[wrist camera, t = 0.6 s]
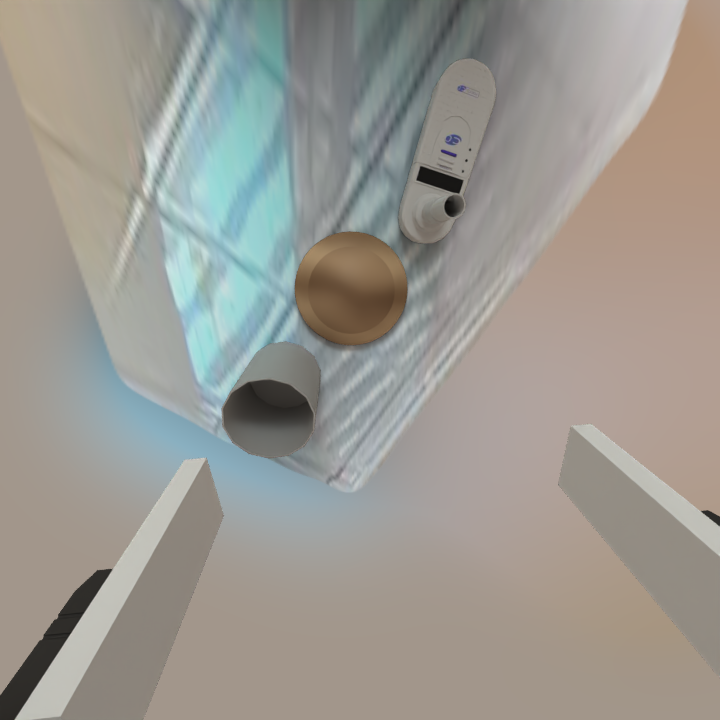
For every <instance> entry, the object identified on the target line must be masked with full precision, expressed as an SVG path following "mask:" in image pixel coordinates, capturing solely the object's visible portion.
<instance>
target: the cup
mask: <svg viewBox="0 0 720 720" xmlns="http://www.w3.org/2000/svg"><path fill="white" fill-rule="evenodd" d="M320 372H321V370H320V368H319V366H318V363H317V361H316V359H315V357H314V356H313V355H312V354H311V353H310V352H309V351H307V350H306V349H305V348H304V347H303V346H300V345H297V344H293V343H290V342H286V341H285V342H278V343H271V344H268V345H267V346H265V347H264V348H262V349H261V350H259V351H258V352H256V354H255V355H254V357H253V359H252V360H251V362H250V363H249V365H248V366H247V368H246V369H245V371H244V372H243V374H242V375H241V377H240V378H239V380H238V381H237V383H236V384H235V386H234V387H233V389H232V390H231V392H230V393H229V395H228V397H227V399H226V401H225V403H224V405H223V407H222V425H223V428H224V430H225V431H226V433H227V435H228V436H229V438H230V439H231V441H232V443H234V444H235V445H237V446H238V447H240V448H241V449H243V450H244V451H246V452H247V453H249V454H252V455H256V456H261V457H265V458H275V457H282V456H289V455H290V454H292V453H294V452H295V451H297V450H299V449H300V448H302V447H304V446H305V444H306V443H307V441H308V440H309V438H310V437H311V435H312V434H313V432H314V428H315V419H316V411H317V403H318V394H319V386H320Z"/></svg>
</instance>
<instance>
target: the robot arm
mask: <svg viewBox="0 0 720 720" xmlns="http://www.w3.org/2000/svg"><path fill="white" fill-rule="evenodd" d="M558 485H559V486H560V488H561V489H562V490H563V491H564V492H565V494H566V495H567V496H568V497H569V498H570V500H571V501H572V502H573V503H574V504H575V505H576V507H577V508H578V509H579V510H580V512H582V514H583V515H584V516H585V517H586V519H587V520H588V521H589V522H590V523H591V525H592V526H593V527H594V528H595V529H596V531H597V532H598V533H599V534H600V535H601V537H602V538H603V539H604V540H605V541H606V543H607V544H608V545H609V546H610V547H611V549H612V550H613V551H614V552H615V553H616V555H617V556H618V557H619V558H620V559H621V561H622V562H623V563H624V564H625V565H626V567H627V568H628V569H629V570H630V571H631V572H632V574H633V575H634V576H635V577H636V579H637V580H638V581H639V582H640V583H641V585H642V586H643V587H644V588H645V589H646V591H647V592H648V593H649V594H650V595H651V597H653V599H654V600H655V601H656V602H657V604H658V605H659V606H660V607H661V608H662V610H663V611H664V612H665V613H666V614H667V615H668V617H669V618H670V619H671V620H672V622H673V623H674V624H675V625H676V626H677V628H678V629H679V630H680V631H681V632H682V634H683V635H684V636H685V637H686V638H687V640H688V641H689V642H690V643H691V644H692V645H693V647H694V648H695V649H696V650H697V651H698V653H699V654H700V655H701V656H702V658H703V659H704V660H705V661H706V662H707V663H708V665H709V666H710V667H711V668H712V670H713V671H714V672H715V673H716V674H717V676H718V677H719V678H720V517H719V516H717V515H716V514H714V513H712V512H710V511H708V510H707V511H699V510H698V509H697V508H696V507H694V506H693V505H692V504H691V503H689V502H688V501H687V500H686V499H684V498H683V497H682V496H680V495H679V494H678V493H677V492H675V491H674V490H673V489H672V488H671V487H669V486H668V485H667V484H666V483H664V482H663V481H662V480H661V479H659V478H658V477H657V476H656V475H654V474H653V473H652V472H651V471H649V470H648V469H647V468H645V467H644V466H643V465H642V464H641V463H639V462H638V461H637V460H636V459H634V458H633V457H632V456H631V455H629V454H628V453H627V452H625V451H624V450H623V449H622V448H620V447H619V446H618V445H617V444H616V443H614V442H613V441H612V440H611V439H609V438H608V437H607V436H606V435H604V434H603V433H602V432H601V431H599V430H598V429H597V428H596V427H594V426H593V425H592V424H587V425H575V426H571V427H570V432H569V437H568V441H567V446H566V450H565V455H564V460H563V464H562V469H561V474H560V478H559V483H558ZM223 517H224V515H223V512H222V508H221V505H220V501H219V498H218V494H217V491H216V488H215V485H214V481H213V478H212V475H211V471H210V468H209V464H208V461H207V458H199V459H188V460H184V461H183V463H182V465H181V466H180V468H179V469H178V471H177V472H176V474H175V475H174V477H173V478H172V480H171V481H170V483H169V484H168V486H167V487H166V489H165V490H164V492H163V494H162V495H161V497H160V498H159V500H158V501H157V503H156V504H155V506H154V507H153V509H152V510H151V512H150V513H149V515H148V516H147V518H146V520H145V521H144V523H143V524H142V526H141V527H140V529H139V530H138V532H137V533H136V535H135V536H134V538H133V539H132V541H131V543H130V544H129V546H128V547H127V549H126V550H125V552H124V553H123V555H122V556H121V558H120V559H119V561H118V562H117V564H116V565H115V567H114V569H106V570H97V571H96V572H95V573H94V574H93V575H92V576H91V577H90V578H89V579H88V580H87V581H85V582H84V584H82V585H81V586H80V587H79V588H78V589H77V590H76V591H75V592H74V594H73V595H72V596H71V598H70V599H69V600H68V602H67V603H66V605H65V606H64V608H63V609H62V610H61V612H60V613H59V614H58V618H57V619H56V620H54V621H53V623H52V624H51V626H50V627H49V628H48V630H47V631H46V633H45V634H44V638H43V639H42V640H40V641H39V642H38V644H37V645H36V647H35V648H34V649H33V651H32V652H31V654H30V655H29V656H28V658H27V659H26V660H25V662H24V663H23V665H22V666H21V667H20V669H19V670H18V672H17V673H16V674H15V676H14V677H13V679H12V680H11V681H10V683H9V684H8V685H7V687H6V688H5V690H4V691H3V693H2V694H1V695H0V720H143V719H144V716H145V714H146V712H147V709H148V707H149V704H150V702H151V699H152V696H153V694H154V691H155V689H156V686H157V684H158V681H159V679H160V676H161V674H162V671H163V668H164V666H165V664H166V661H167V658H168V656H169V653H170V651H171V648H172V646H173V643H174V641H175V638H176V635H177V633H178V631H179V628H180V626H181V623H182V620H183V618H184V615H185V613H186V610H187V608H188V605H189V603H190V600H191V598H192V595H193V593H194V590H195V588H196V585H197V582H198V580H199V577H200V575H201V572H202V570H203V567H204V565H205V562H206V560H207V557H208V555H209V552H210V549H211V547H212V544H213V542H214V539H215V537H216V534H217V532H218V529H219V527H220V524H221V522H222V519H223Z"/></svg>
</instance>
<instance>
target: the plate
mask: <svg viewBox="0 0 720 720" xmlns="http://www.w3.org/2000/svg"><path fill="white" fill-rule="evenodd" d="M295 297H296V302H297V305H298V309H299V311H300V313H301V315H302V317H303V319H304V320H305V322H306V323H307V324H308V325H309V327H310V328H311V329H312V330H313V331H314V332H316V333H317V334H318V335H320V336H321V337H323V338H325V339H327V340H329V341H331V342H334V343H338V344H343V345H360V344H364V343H368V342H371V341H373V340H375V339H377V338H379V337H381V336H382V335H384V334H385V333H386V332H388V331H389V330H390V329H391V328H392V327H393V326H394V324H395V323H396V322H397V320H398V319H399V317H400V315H401V314H402V312H403V309H404V306H405V303H406V298H407V279H406V274H405V271H404V268H403V265H402V263H401V261H400V260H399V258H398V256H397V255H396V254H395V252H394V251H393V250H392V249H391V248H390V247H389V246H388V245H387V244H385V243H384V242H383V241H381V240H380V239H378V238H376V237H374V236H371V235H368V234H365V233H360V232H341V233H337V234H334V235H331V236H328V237H326V238H325V239H323V240H321V241H320V242H318V243H317V244H316V245H314V246H313V247H312V248H311V249H310V250H309V251H308V253H307V254H306V255H305V257H304V258H303V260H302V262H301V264H300V266H299V269H298V271H297V275H296V280H295Z"/></svg>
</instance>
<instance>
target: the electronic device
mask: <svg viewBox="0 0 720 720" xmlns="http://www.w3.org/2000/svg"><path fill="white" fill-rule="evenodd" d="M495 98H496V85H495V81H494V77H493V74H492V72H491V71H490V70H489V69H488V67H487V66H486V65H485V64H483V63H482V62H480V61H477V60H475V59H469V58H465V59H460V60H457V61H455V62H454V63H452V64H451V65H450V66H449V67H448V68H447V69H446V70H445V71H444V73H443V74H442V76H441V77H440V79H439V81H438V82H437V84H436V86H435V88H434V90H433V93H432V96H431V100H430V103H429V107H428V110H427V114H426V117H425V121H424V124H423V128H422V131H421V134H420V138H419V141H418V145H417V148H416V152H415V155H414V159H413V162H412V167H411V169H410V173H409V176H408V180H407V183H406V184H407V185H406V187H405V190H404V194H403V197H402V201H401V204H400V208H399V215H398V220H399V225H400V228H401V230H402V232H403V233H404V235H405V236H406V237H407V238H409V239H410V240H411V241H413V242H417V243H420V244H426V243H435V242H437V241H439V240H441V239H443V238H444V237H445V236H446V235H447V234H448V233H449V232H450V230H451V228H452V226H453V224H454V222H455V219H456V218H459V217H460V216H462V214H463V213H464V211H465V208H466V201H465V199H464V197H463V195H464V192H465V189H466V187H467V184H468V180H469V178H470V175H471V172H472V169H473V166H474V163H475V160H476V157H477V154H478V151H479V148H480V145H481V142H482V139H483V136H484V133H485V130H486V127H487V124H488V121H489V119H490V116H491V113H492V110H493V107H494V104H495Z"/></svg>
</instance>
